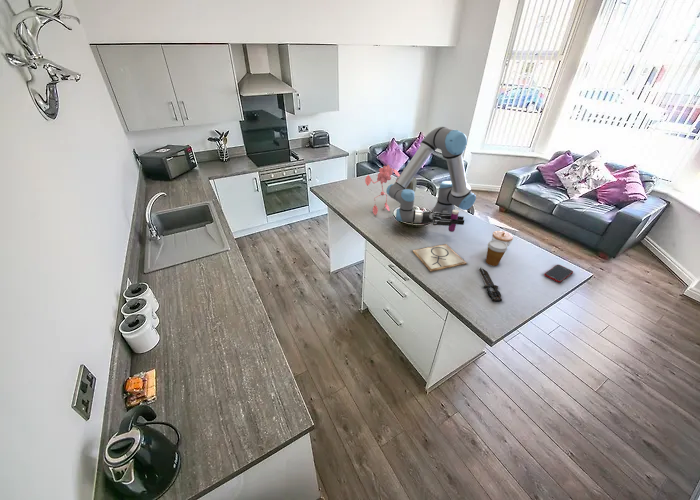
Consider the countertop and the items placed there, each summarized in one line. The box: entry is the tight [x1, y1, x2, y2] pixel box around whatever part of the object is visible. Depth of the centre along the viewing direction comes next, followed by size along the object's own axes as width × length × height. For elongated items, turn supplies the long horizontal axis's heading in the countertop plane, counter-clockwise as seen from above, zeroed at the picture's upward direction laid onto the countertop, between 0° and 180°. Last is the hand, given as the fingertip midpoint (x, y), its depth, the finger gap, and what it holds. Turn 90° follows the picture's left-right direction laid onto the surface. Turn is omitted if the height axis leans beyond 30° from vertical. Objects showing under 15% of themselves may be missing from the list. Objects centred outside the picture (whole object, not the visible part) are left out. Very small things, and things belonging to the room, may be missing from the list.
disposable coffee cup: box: [485, 239, 509, 267], centre depth 153 cm, size 10×10×12 cm
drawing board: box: [412, 243, 468, 273], centre depth 160 cm, size 22×20×1 cm
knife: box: [478, 267, 503, 303], centre depth 141 cm, size 25×6×1 cm, turn 171°
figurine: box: [364, 164, 401, 220], centre depth 194 cm, size 15×26×35 cm, turn 118°
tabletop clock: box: [395, 166, 418, 194], centre depth 219 cm, size 14×9×25 cm, turn 58°
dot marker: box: [448, 209, 460, 233], centre depth 168 cm, size 4×4×13 cm
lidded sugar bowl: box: [491, 230, 514, 248], centre depth 167 cm, size 11×11×9 cm
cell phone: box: [543, 264, 574, 283], centre depth 147 cm, size 8×15×1 cm, turn 124°
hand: (463, 220), depth 167 cm, fingers closed on dot marker, 4 cm apart
